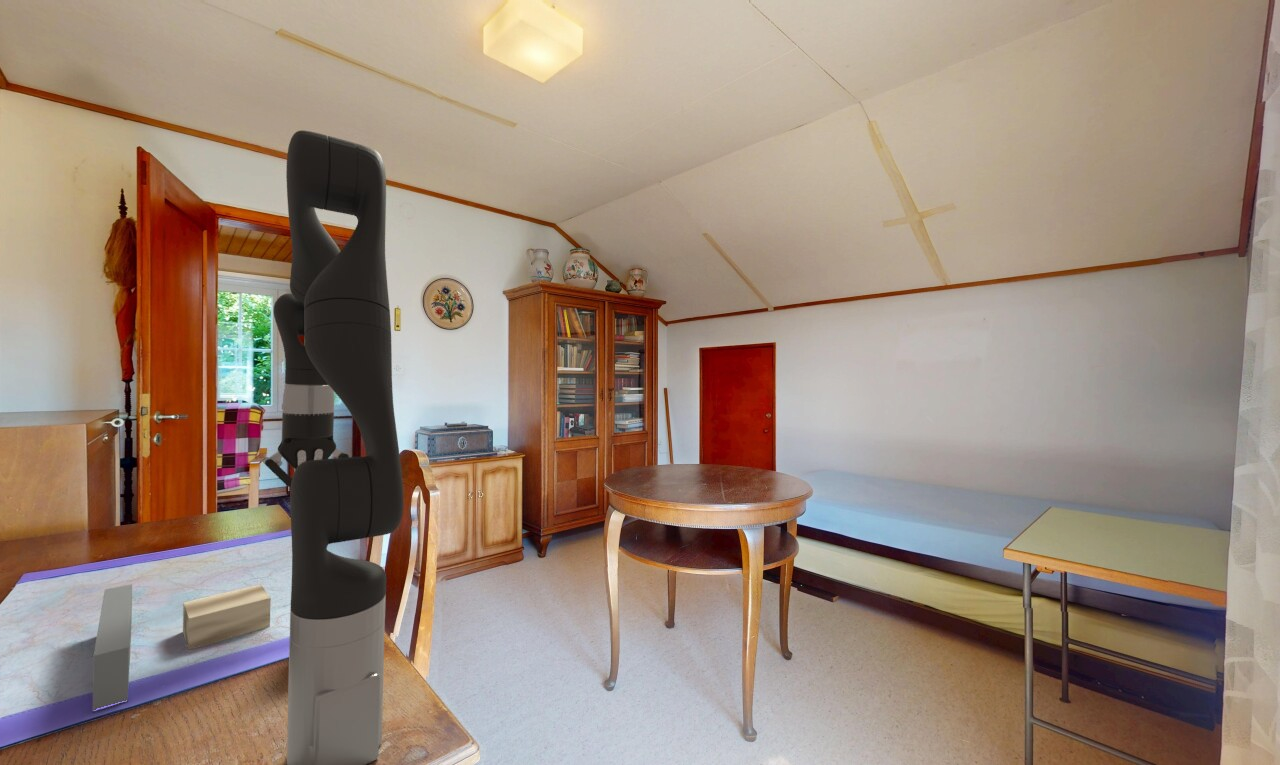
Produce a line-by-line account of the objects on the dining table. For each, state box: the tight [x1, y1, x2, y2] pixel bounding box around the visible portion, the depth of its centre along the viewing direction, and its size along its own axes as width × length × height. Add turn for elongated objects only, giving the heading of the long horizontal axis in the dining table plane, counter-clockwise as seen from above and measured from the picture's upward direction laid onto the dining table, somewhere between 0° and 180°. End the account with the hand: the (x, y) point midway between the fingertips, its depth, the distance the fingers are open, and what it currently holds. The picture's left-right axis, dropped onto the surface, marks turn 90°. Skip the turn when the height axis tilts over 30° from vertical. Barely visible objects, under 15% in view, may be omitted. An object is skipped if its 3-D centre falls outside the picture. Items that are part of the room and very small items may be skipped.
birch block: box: [182, 584, 271, 651], centre depth 81 cm, size 7×10×5 cm
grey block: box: [92, 583, 133, 711], centre depth 71 cm, size 24×3×7 cm, turn 45°
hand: (306, 508), depth 88 cm, fingers closed
